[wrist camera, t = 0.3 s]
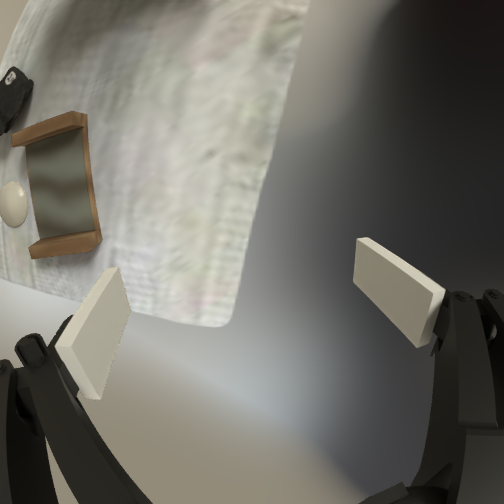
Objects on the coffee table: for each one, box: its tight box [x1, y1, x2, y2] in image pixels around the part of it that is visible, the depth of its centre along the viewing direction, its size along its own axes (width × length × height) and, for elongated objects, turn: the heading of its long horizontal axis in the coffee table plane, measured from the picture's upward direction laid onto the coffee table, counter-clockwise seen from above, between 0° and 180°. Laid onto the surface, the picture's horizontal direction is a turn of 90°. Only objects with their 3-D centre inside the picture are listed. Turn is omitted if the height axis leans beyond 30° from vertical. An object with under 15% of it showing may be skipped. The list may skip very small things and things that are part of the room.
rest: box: [12, 111, 103, 259], centre depth 32 cm, size 20×12×5 cm, turn 3°
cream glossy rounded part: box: [0, 182, 28, 227], centre depth 33 cm, size 8×8×1 cm
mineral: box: [0, 66, 33, 136], centre depth 25 cm, size 10×9×6 cm
